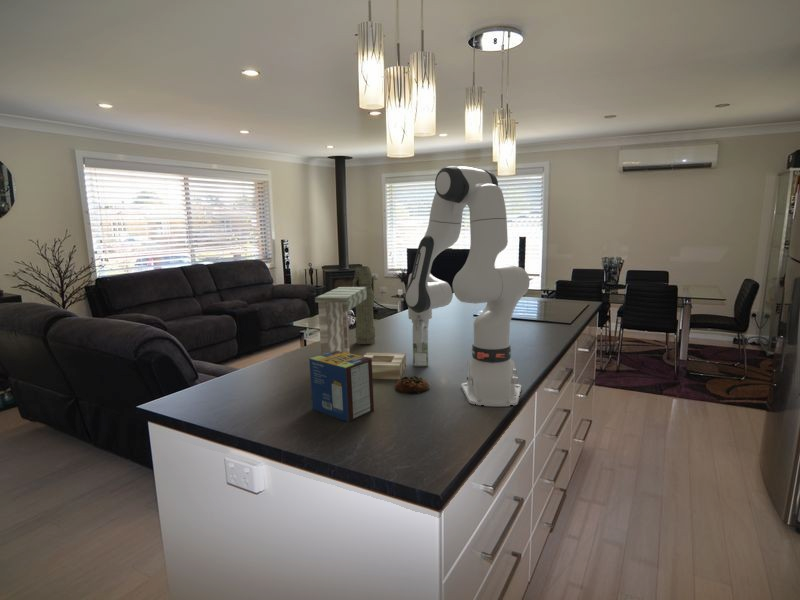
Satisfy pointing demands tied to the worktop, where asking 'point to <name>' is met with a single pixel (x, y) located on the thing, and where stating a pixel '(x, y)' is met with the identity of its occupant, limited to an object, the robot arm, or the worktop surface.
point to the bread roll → (412, 385)
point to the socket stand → (337, 331)
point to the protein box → (342, 384)
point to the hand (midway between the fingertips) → (420, 349)
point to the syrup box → (422, 357)
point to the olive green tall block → (365, 307)
